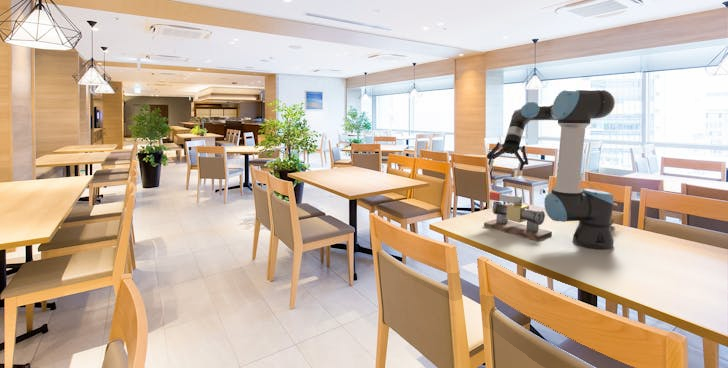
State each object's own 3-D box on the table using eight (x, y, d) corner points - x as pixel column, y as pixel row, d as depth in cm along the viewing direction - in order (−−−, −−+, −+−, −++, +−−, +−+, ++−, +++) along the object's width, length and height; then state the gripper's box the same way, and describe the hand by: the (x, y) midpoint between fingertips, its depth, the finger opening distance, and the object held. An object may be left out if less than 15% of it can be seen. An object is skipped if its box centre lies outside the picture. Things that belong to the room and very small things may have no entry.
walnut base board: (551, 235, 178) (551, 231, 178) (537, 241, 171) (537, 236, 171) (498, 222, 200) (498, 218, 200) (483, 226, 193) (484, 222, 193)
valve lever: (523, 205, 183) (524, 196, 182) (519, 206, 181) (519, 197, 180) (493, 198, 196) (493, 190, 196) (488, 199, 194) (489, 191, 194)
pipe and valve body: (543, 231, 178) (545, 209, 176) (535, 234, 174) (537, 211, 172) (499, 220, 197) (501, 200, 195) (491, 222, 193) (492, 202, 191)
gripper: (539, 144, 198) (529, 180, 191) (490, 138, 210) (479, 172, 204) (539, 136, 192) (529, 173, 185) (488, 130, 204) (477, 165, 198)
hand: (502, 173), depth 194 cm, fingers open, 13 cm apart
